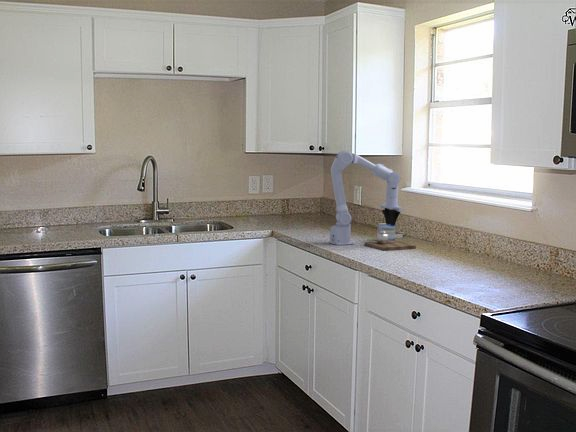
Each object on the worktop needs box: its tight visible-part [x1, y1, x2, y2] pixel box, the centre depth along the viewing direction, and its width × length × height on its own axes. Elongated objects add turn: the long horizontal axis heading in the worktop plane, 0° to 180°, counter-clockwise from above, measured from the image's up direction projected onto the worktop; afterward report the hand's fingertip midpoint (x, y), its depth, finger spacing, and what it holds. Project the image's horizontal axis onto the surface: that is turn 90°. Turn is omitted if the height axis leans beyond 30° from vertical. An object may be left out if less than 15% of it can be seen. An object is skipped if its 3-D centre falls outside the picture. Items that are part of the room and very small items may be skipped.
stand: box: [363, 239, 417, 252], centre depth 311 cm, size 18×16×2 cm
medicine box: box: [376, 222, 396, 241], centre depth 330 cm, size 8×4×9 cm, turn 105°
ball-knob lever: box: [376, 231, 406, 244], centre depth 314 cm, size 16×5×6 cm, turn 119°
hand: (390, 224), depth 318 cm, fingers open, 3 cm apart
